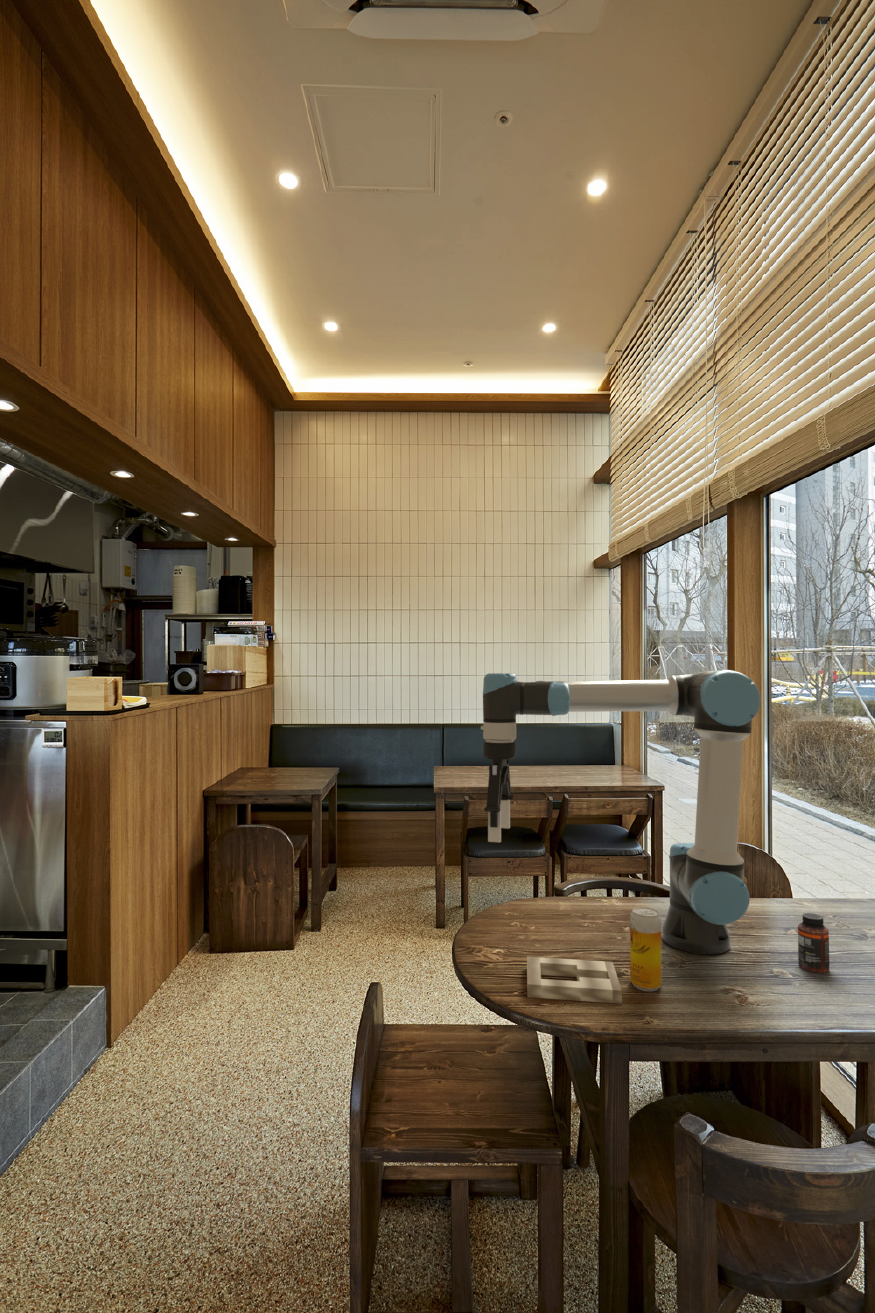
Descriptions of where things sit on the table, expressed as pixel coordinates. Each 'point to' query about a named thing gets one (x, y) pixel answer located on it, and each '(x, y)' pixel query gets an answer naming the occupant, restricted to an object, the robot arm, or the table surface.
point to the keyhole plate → (591, 984)
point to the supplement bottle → (813, 944)
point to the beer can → (645, 949)
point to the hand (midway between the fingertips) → (499, 834)
